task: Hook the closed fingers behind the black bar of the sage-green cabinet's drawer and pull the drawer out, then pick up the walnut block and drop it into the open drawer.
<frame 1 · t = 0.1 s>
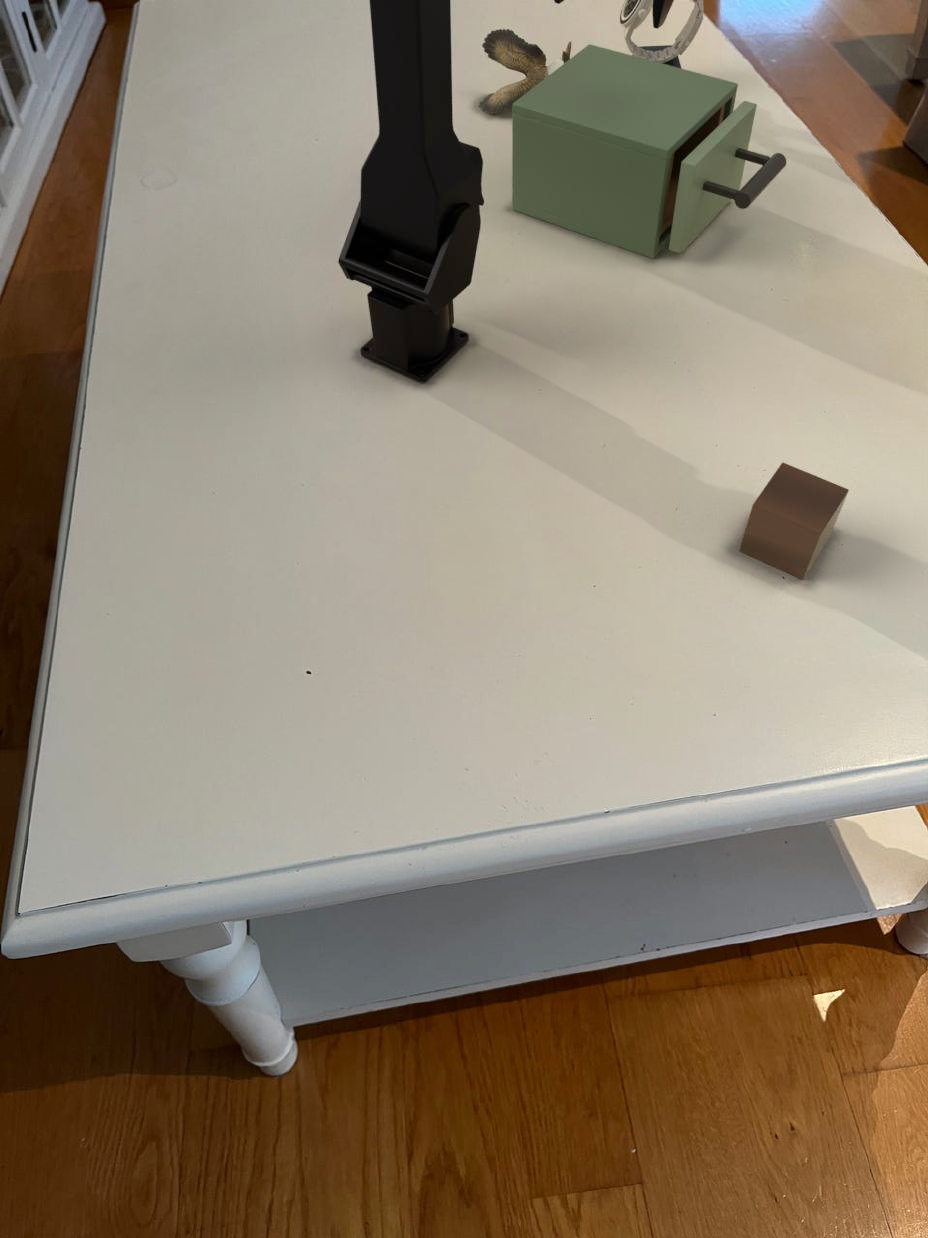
hand: (608, 13, 79), 15 cm above the table, tool pointing down, fingers open, 9 cm apart
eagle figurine: (525, 104, 101), on the table
watch: (652, 91, 101), on the table
drawer: (670, 164, 84), point 5 cm above the table, slide at 1.0 cm
cabinet: (615, 199, 89), on the table
block: (784, 543, 64), on the table
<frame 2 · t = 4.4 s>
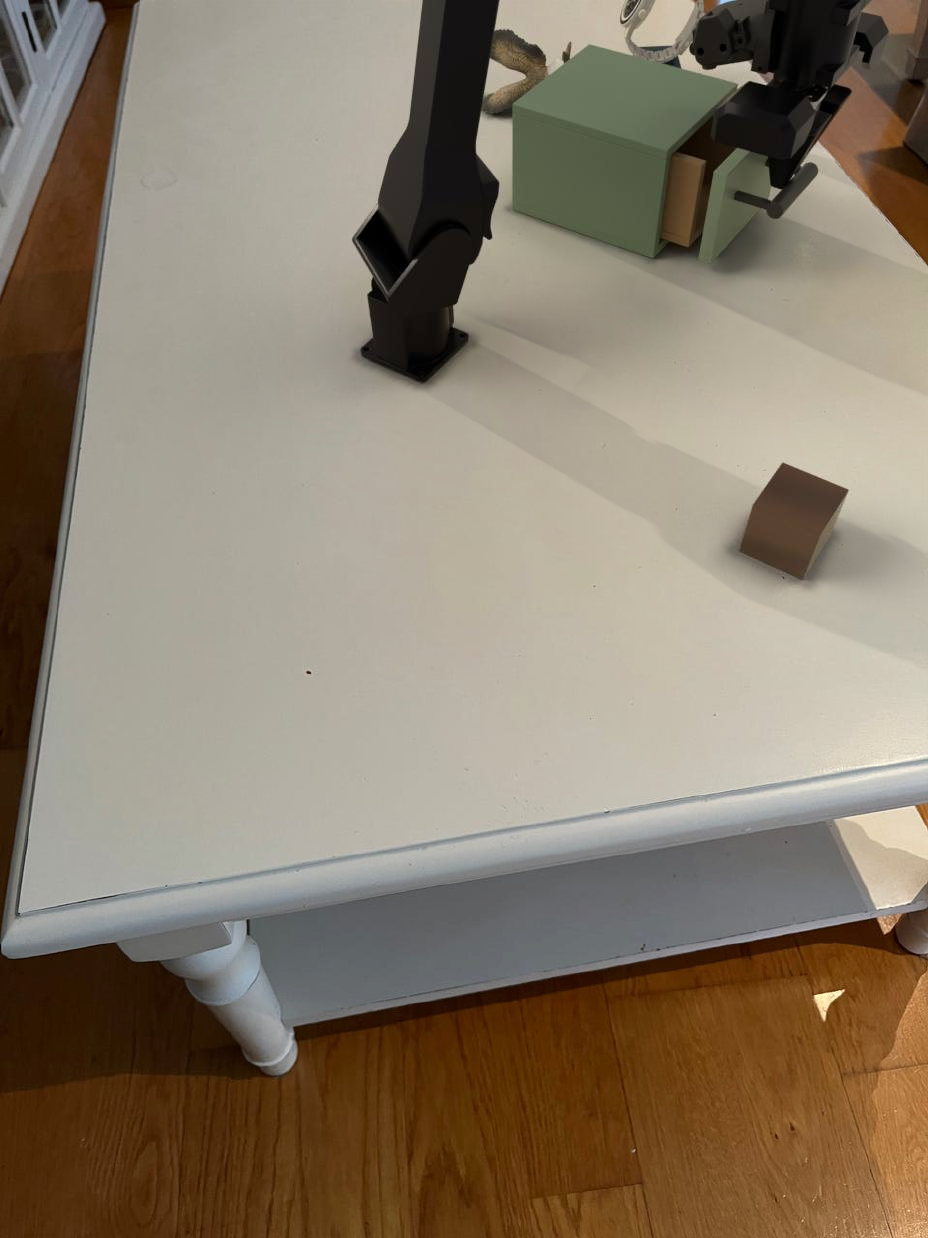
hand: (778, 185, 79), 6 cm above the table, tool pointing down, fingers closed, pressing on drawer
drawer: (699, 173, 83), point 5 cm above the table, slide at 3.8 cm, touching gripper
everything else where it was.
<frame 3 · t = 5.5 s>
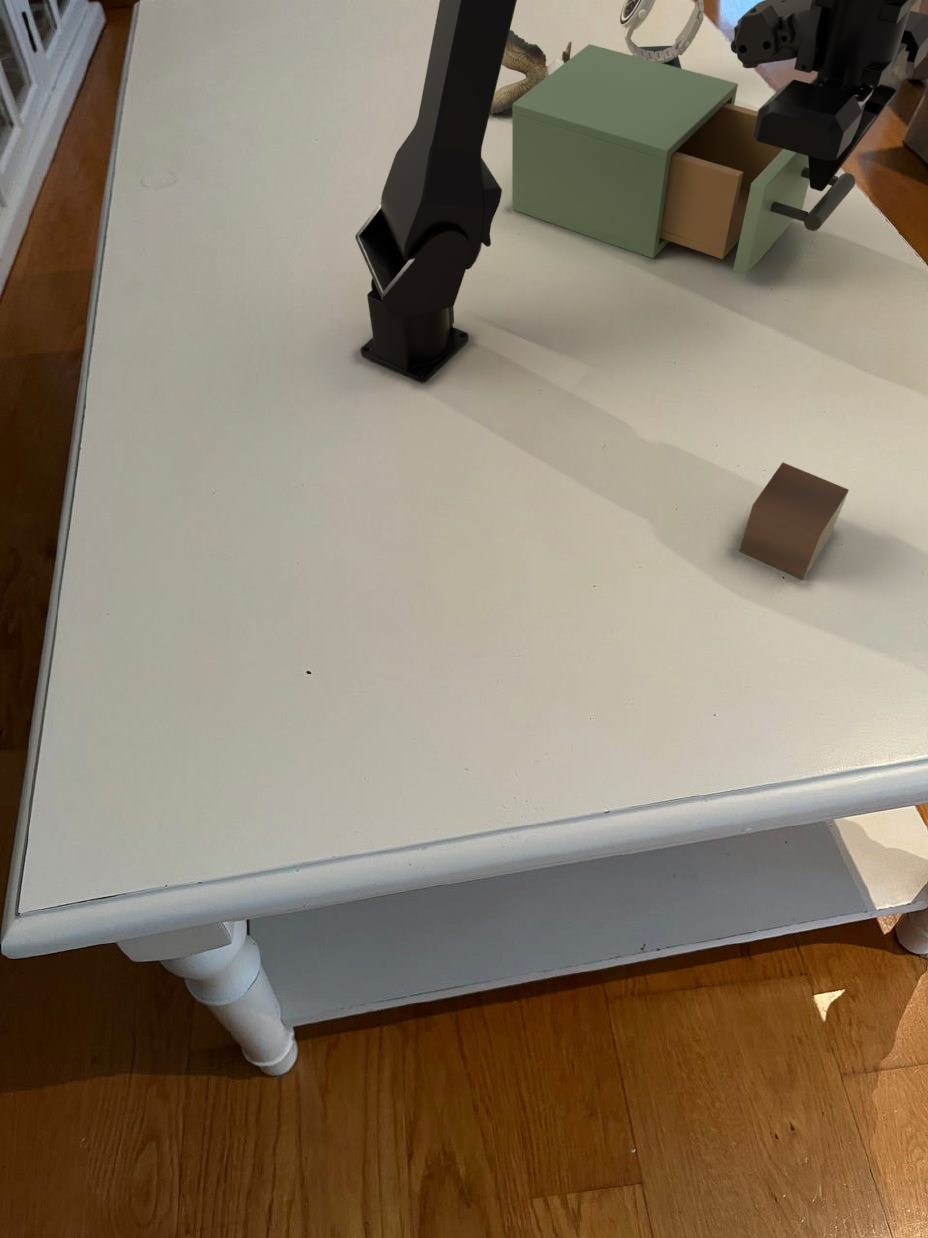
hand: (817, 187, 78), 6 cm above the table, tool pointing down, fingers closed
drawer: (733, 183, 81), point 5 cm above the table, slide at 7.0 cm
everything else where it was.
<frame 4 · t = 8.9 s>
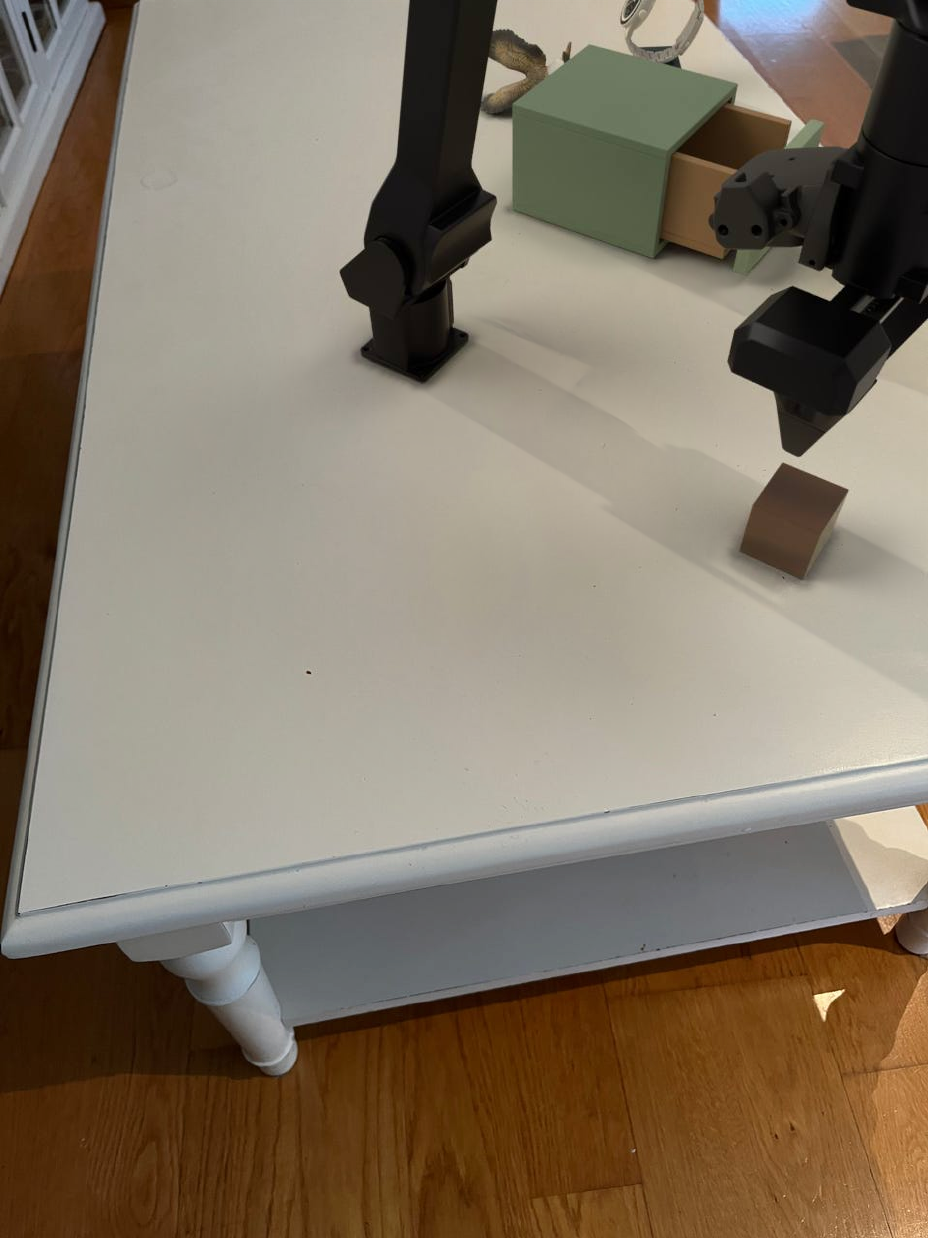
hand: (832, 406, 55), 12 cm above the table, tool pointing down, fingers open, 9 cm apart
nothing on the table moved.
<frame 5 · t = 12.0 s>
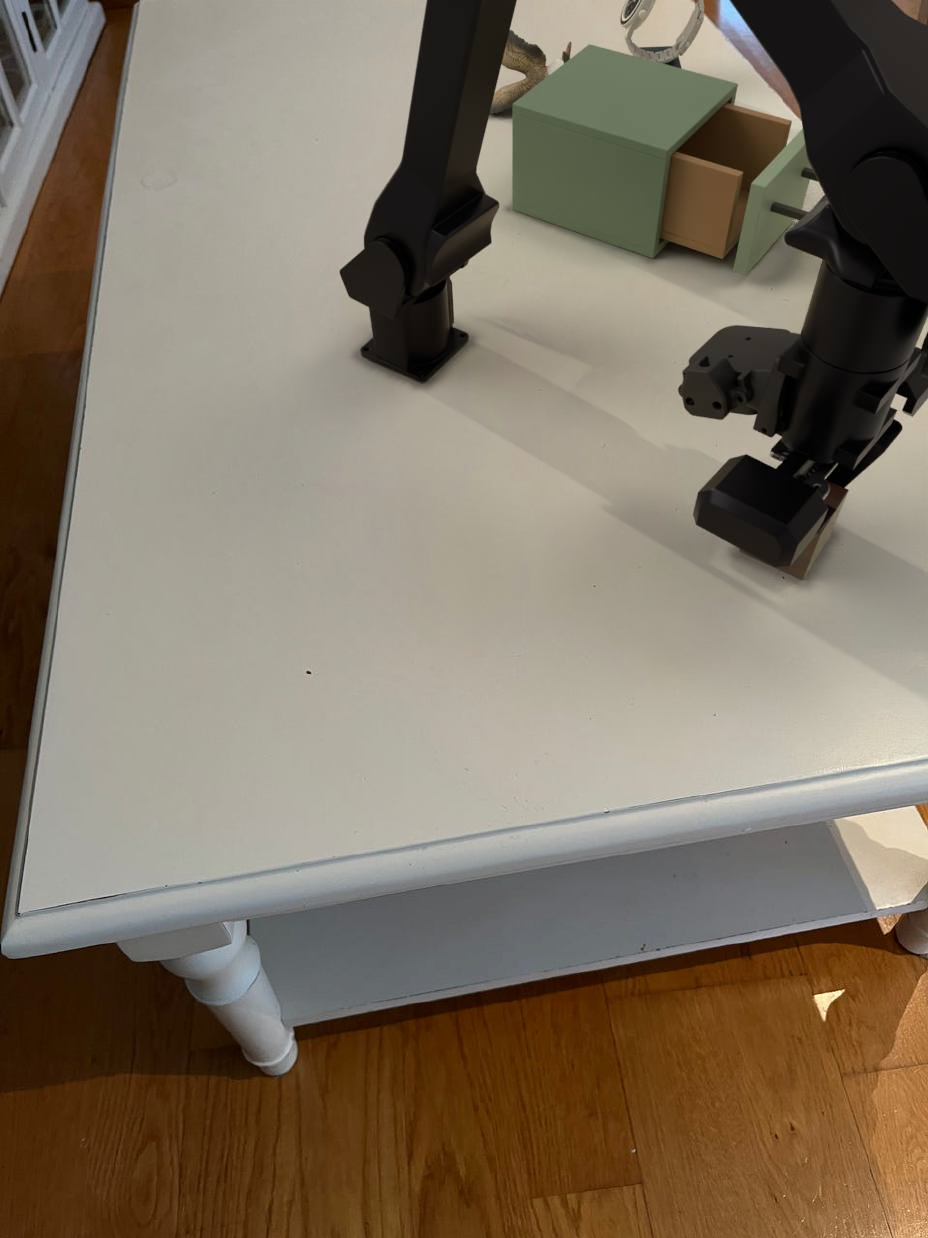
hand: (788, 533, 64), 1 cm above the table, tool pointing down, fingers closed on block, 4 cm apart
block: (784, 543, 64), on the table, touching gripper
everything else where it was.
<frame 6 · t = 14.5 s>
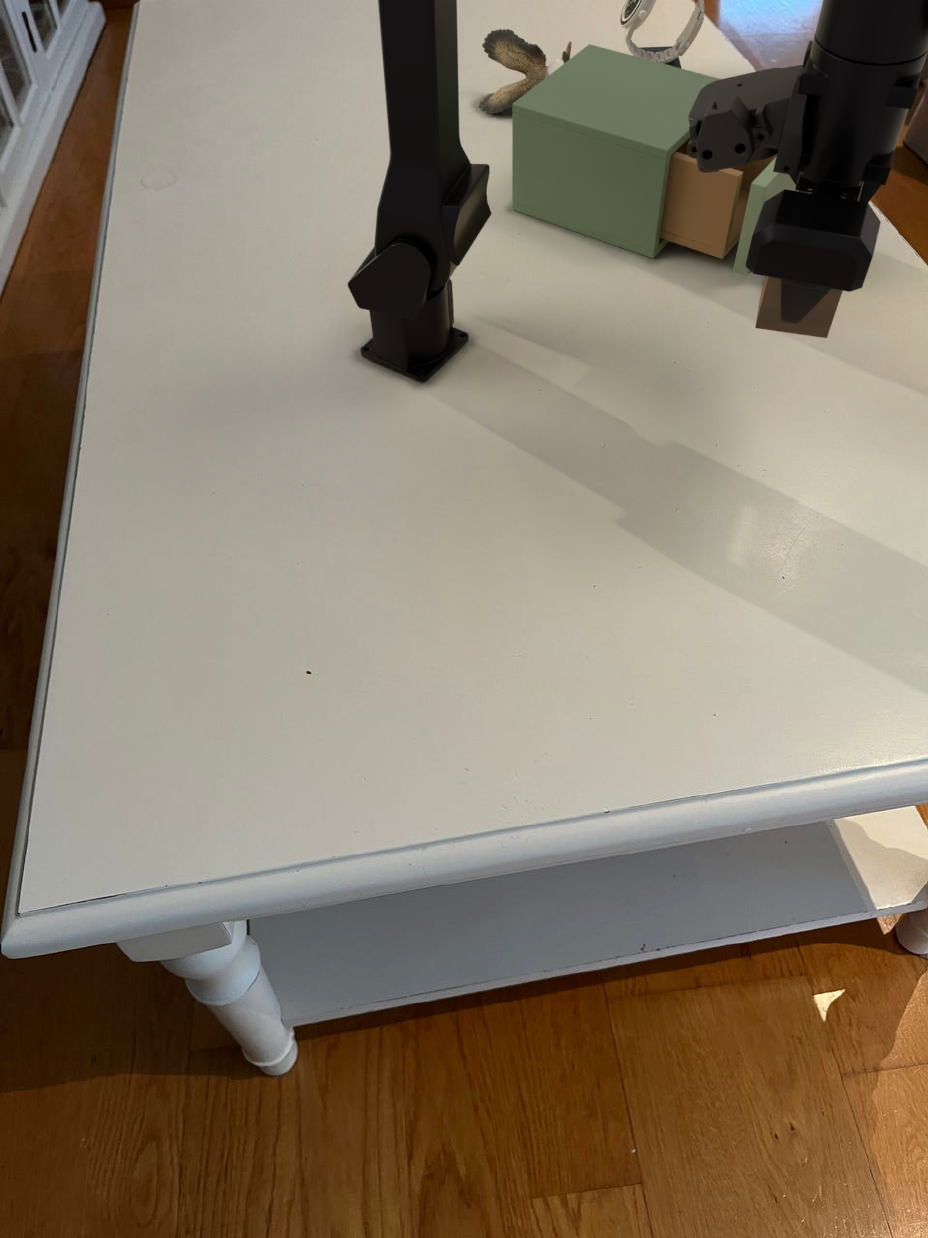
hand: (796, 298, 62), 11 cm above the table, tool pointing down, fingers closed on block, 4 cm apart
block: (793, 312, 63), point 10 cm above the table, touching gripper
everything else where it was.
when the fingers open (10 cm above the table, at t = 17.2 s): block drops 3 cm and tips over, point 6 cm above the table.
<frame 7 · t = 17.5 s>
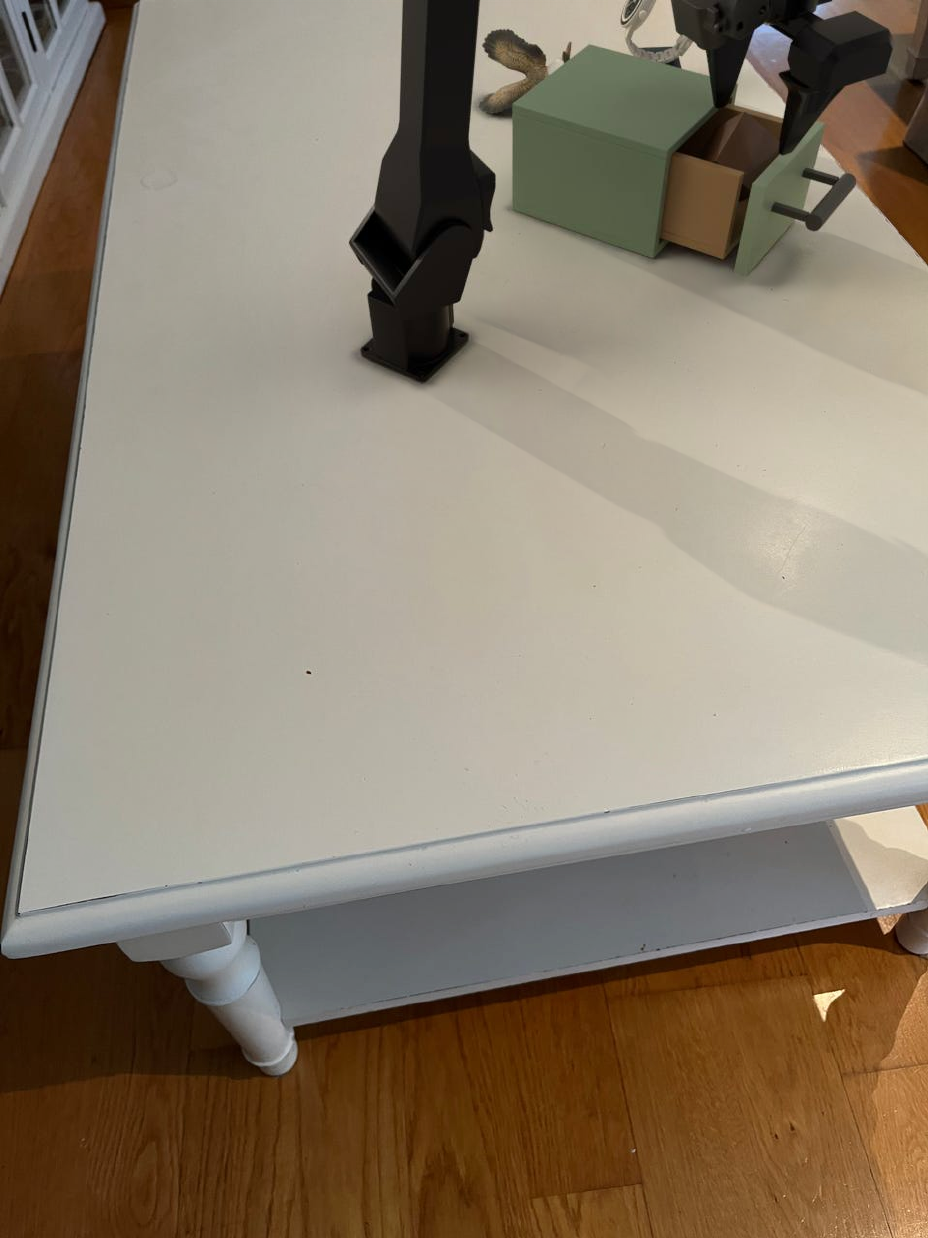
hand: (751, 129, 77), 10 cm above the table, tool pointing down, fingers open, 8 cm apart
block: (755, 177, 80), point 6 cm above the table, tilted 55°
everything else where it was.
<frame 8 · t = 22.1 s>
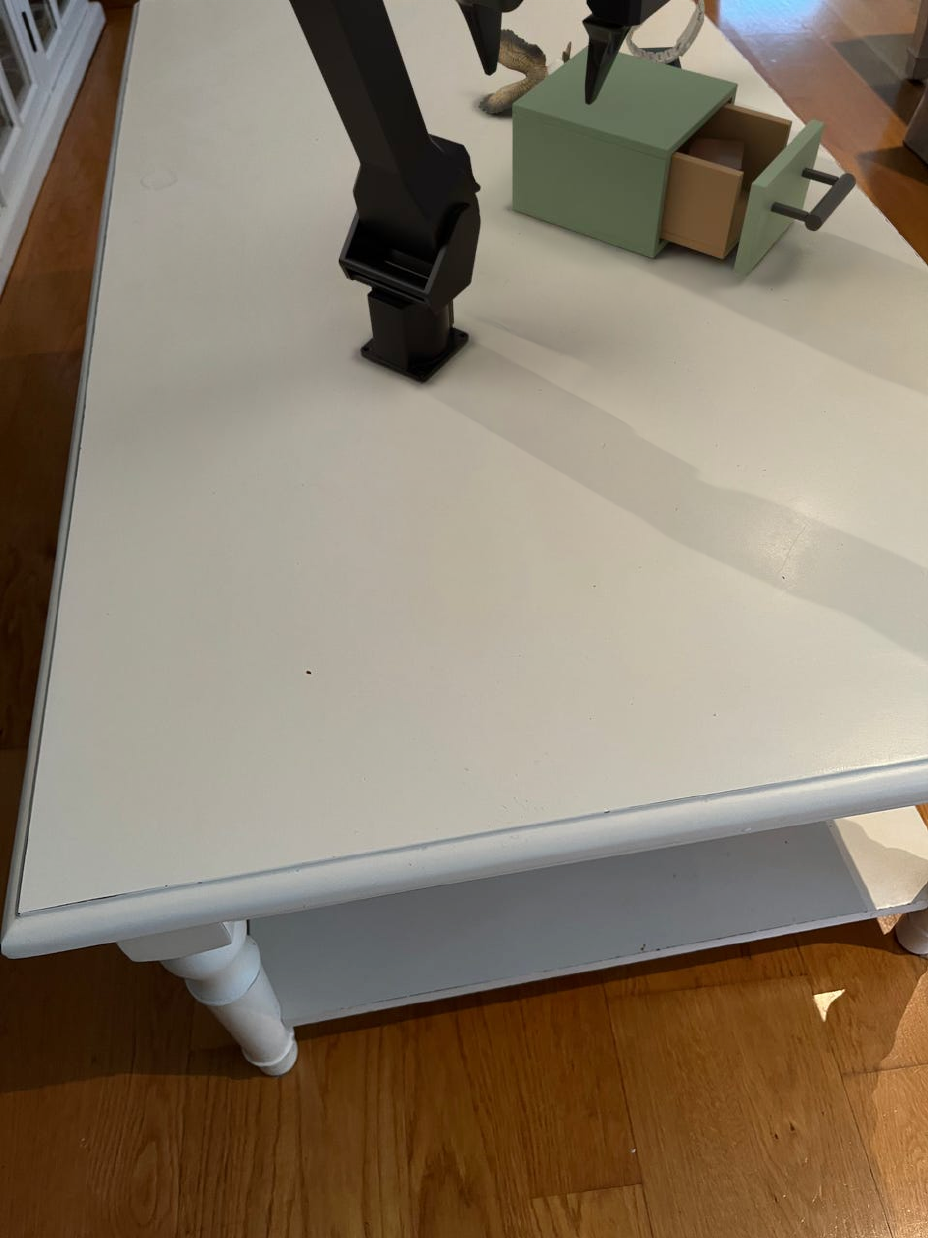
hand: (539, 87, 76), 13 cm above the table, tool pointing down, fingers open, 9 cm apart
drawer: (734, 183, 81), point 5 cm above the table, slide at 7.0 cm, touching block
block: (738, 180, 83), point 4 cm above the table, tilted 90°, touching drawer
everything else where it was.
at the end: drawer slide at 7.0 cm; block inside the target area in the drawer (1.6 cm from its centre), point 4.2 cm above the cabinet's base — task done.
